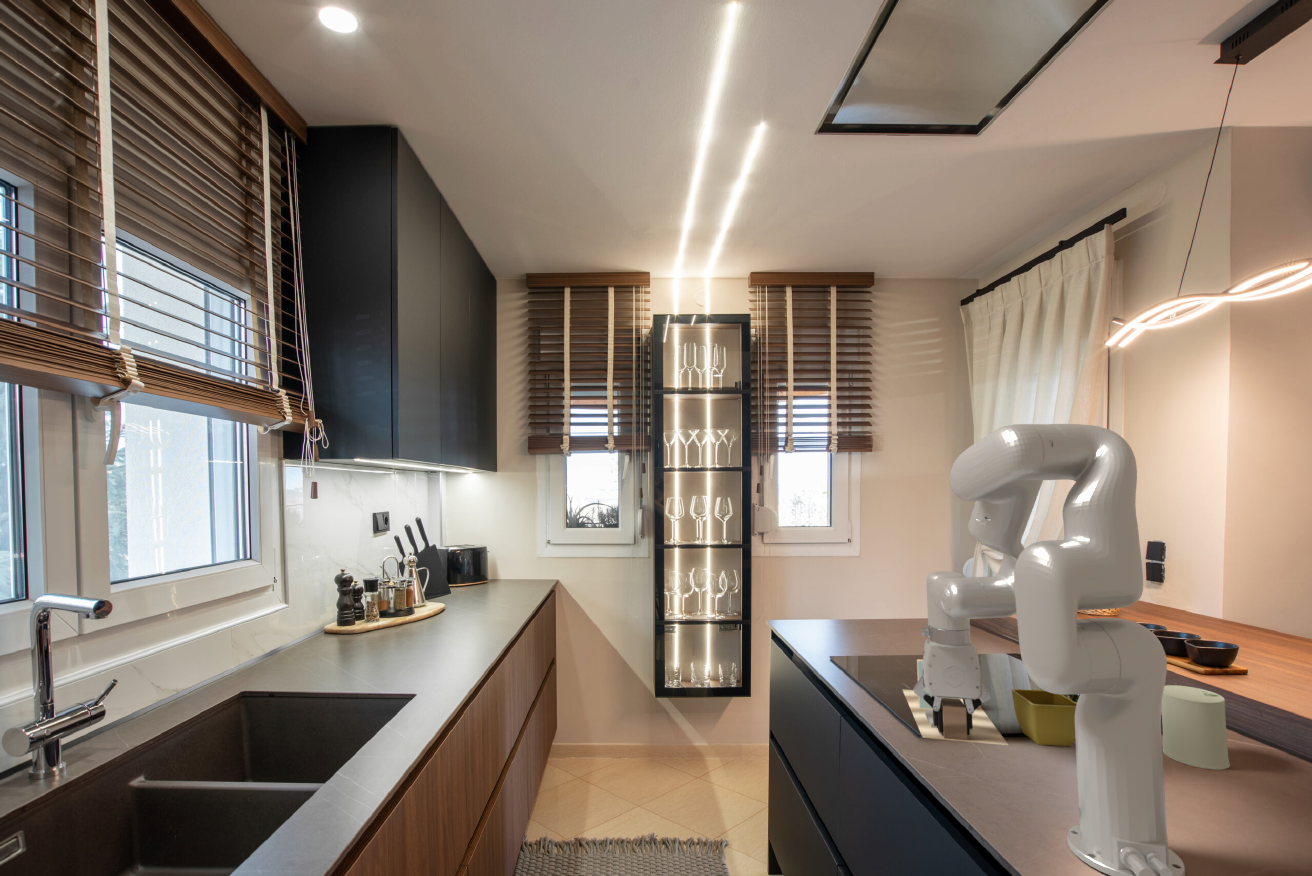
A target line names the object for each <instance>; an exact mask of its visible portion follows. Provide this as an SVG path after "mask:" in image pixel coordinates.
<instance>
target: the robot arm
mask: <svg viewBox="0 0 1312 876" xmlns="http://www.w3.org/2000/svg"><path fill="white" fill-rule="evenodd" d="M1137 469H1138V468H1137V461H1136V457H1135V453H1134V451H1133V449H1132V447H1131V446H1130V445H1129V443H1128V441H1126V440H1125V439H1124V438H1123V437H1122V436H1121V435H1120V434H1118V433H1117V432H1115V431H1114V430H1111V429H1108V428H1105V427H1102V426H1097V425H1091V424H1084V423H1083V424H1081V423H1077V424H1076V423H1048V424H1047V423H1045V424H1044V423H1043V424H1042V423H1038V424H1037V423H1027V424H1026V423H1022V424H1021V423H1017V424H1010V425H1009V424H1008V425H1004V426H1002V427H999V428H997V429H995V430H994V431H992V432H990V433H989V434H987V435H986V436H984V437H983V438H981V439H980V440H978V441H977V442H974V443H972V445H970V446H969V447H968V448H966V449H965V450H964V451H963V452H961V453H960V454H959V456H957V457H956V459H955V461H954V462H953V465H952V466H951V470H950V474H949V484H950V487H951V490H952V492H953V494H954V495H955V496H956V497H957V498H958V499H961V500H962V501H967V502H975V503H974V505H973V509H972V512H971V515H970V517H969V521H968V525H967V529H968V532H969V534H970V535H971V537H972V538H973V539H975V541H977V542H978V543H980V544H982V545H983V546H985V547H987V548H989V549H992V550H993V551H996V552H999V553H1001V554H1002V560H1001V564H1000V567H999V568H998V569H999V570H998V571H997V574H996V576H994V575H993V576H969V577H968V576H967V577H966V575H965V574H962V573H960V572H956V571H954V572H953V571H944V570H943V571H939V570H938V571H933V572H930V573H928V575H927V576H926V600H927V601H926V602H927V607H926V608H927V624H926V625H927V626H926V627H925V628H921V627H920V635H921V636H924V637H927V638H928V639H926V640H924V641H925V642H924V645H923V646H924V647H923V654H922V660H923V668H922V676H921V678H920V679H919V681H918V680H917V682H916V684H914V686H913V689H912V690H913V691H914V693H915V694H916V695H918V696H919V697H921V698H922V699H924V700H925V701H926V702H927V703H928V704H929V705H930V706H931V707H932V708H933V724H934V726H937V729H938V731H939V732H941V733H942V732H943V713H942V711H941V707H940V704H941V698H942V697H945V698H958V699H963V703H964V706H965V707H966V721H967V735H970V729H973V725H972V714H973V713H974V711H975V710H976V709H977V708H978V707H979V706H980V707H981V705H982V704H983V703H985V702H987V701H989V700H991V699H992V694H990V692H989V691H988V690H987V688H986V687H985V685H984V684H983V683H982V675H981V674H982V673H981V667H980V662H979V655H978V649H977V647H976V645H975V644H974V643H973V642H972V641H971V623H970V622H971V621H970V620H979V619H997V618H998V619H999V618H1009V617H1011V616H1013V615H1015V614H1016V622H1017V623H1016V624H1017V632H1018V633H1017V634H1018V635H1017V636H1018V643H1019V644H1018V646H1019V652H1020V657H1021V662H1022V665H1023V667H1024V669H1025V672H1026V673H1027V676H1028V677H1029V678H1030V680H1031V681H1032V682H1033V683H1034V684H1035V685H1036V687H1039V689H1040V690H1045V691H1047V692H1050V693H1054V694H1062V695H1079V696H1078V700H1077V702H1076V703H1077V705H1076V710H1075V741H1074V743H1075V758H1076V777H1077V778H1076V779H1077V792H1078V793H1077V796H1078V812H1079V814H1078V815H1079V824H1075V825H1074V826H1072V827H1070V828H1069V829H1068V830H1067V833H1066V834H1067V835H1066V839H1067V845H1068V847H1069V849H1070V850H1071V851H1072V853H1073V854H1074V855H1075V856H1077V857H1078V858H1079V859H1080V860H1081V861H1083V862H1084V863H1085V864H1086V865H1089V866H1090V867H1092V868H1093V869H1095V870H1097V871H1099V872H1100V873H1103V874H1106V875H1108V876H1186V869H1185V864H1184V861H1183V860H1182V859H1181V857H1180V856H1179V855H1178V854H1177V853H1175V852H1174V851H1173V850H1172V849H1171V848H1169V841H1168V838H1169V837H1168V825H1167V823H1168V822H1167V807H1166V794H1165V793H1166V791H1165V776H1164V775H1165V773H1164V762H1163V761H1164V760H1163V758H1164V757H1163V741H1162V740H1163V735H1162V710H1161V704H1162V696H1163V690H1164V686H1166V678H1167V671H1168V663H1167V655H1166V651H1165V649H1164V647H1163V646H1164V645H1162V643H1161V641H1160V640H1159V638H1158V637H1157V636H1156V635H1155V634H1154V633H1153V632H1152V630H1150V629H1149V628H1148V627H1146V626H1144V625H1143V624H1140V623H1139V622H1135V621H1134V620H1133V621H1132V620H1130V619H1124V618H1118V617H1116V618H1115V617H1097V618H1096V617H1095V618H1078V611H1087V610H1088V611H1089V610H1095V611H1096V610H1109V609H1110V610H1111V609H1121V608H1126V607H1129V606H1133V605H1134V604H1135V603H1137V602H1138V601H1139V600H1140V599H1141V597H1142V595H1143V592H1144V574H1143V573H1144V572H1143V562H1142V554H1141V553H1142V552H1141V543H1140V542H1141V541H1140V534H1139V525H1138V524H1139V523H1138V519H1137V510H1136V509H1137V507H1136V504H1137V503H1136V501H1137V500H1136V499H1137V497H1136V496H1137V483H1138V470H1137ZM1057 480H1059V481H1060V480H1061V481H1062V480H1064V481H1065V480H1066V481H1067V480H1071V481H1074V482H1075V483H1074V484H1073V485H1072V487H1071V488H1070V489H1069V491H1068V493H1067V496H1066V498H1065V499H1064V503H1063V508H1062V520H1063V539H1059V540H1057V539H1056V540H1055V539H1054V540H1052V539H1050V540H1042V541H1037V542H1034V543H1031V544H1029V545H1027V546H1024V545H1023V544H1022V538H1023V536H1024V533H1025V531H1026V529H1027V526H1028V523H1029V520H1030V517H1031V514H1032V512H1033V509H1034V507H1035V504H1036V501H1037V498H1038V495H1039V493H1040V491H1041V487H1042V485H1043V482H1044V481H1057ZM924 687H925V690H926V692H927V693H926V692H924V691H923V689H924ZM930 695H932V697H931V696H930Z"/></svg>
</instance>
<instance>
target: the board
mask: <svg viewBox="0 0 1312 876" xmlns="http://www.w3.org/2000/svg"><path fill="white" fill-rule="evenodd" d="M901 690H902V692H903V694H904V697H905V700H906V701H907V702H906V703H908V706H909V709H910V711H911V713H912V716H913V719H914V720H915V722H916V725H917V728H918V730H919V732H920V735H921V737H922V738H924V739H931V740H932V739H933V740H942V741H943V740H944V741H953V742H955V741H956V742H966V743H977V744H987V745H988V744H990V745H999V746H1009V743H1008V742H1007V741H1006V740H1005V737H1003V736H1002V734H1001V732H1000V731H999V730H998V729H997V727H996V726H995V725H994V723H993V722H992V720H991V719H990V718H989V716H988V715H987V714H986V712H985V710H984V709H983V708H982V706H981V705H980V706H979V707H978V708H977V709H976V710H975V711H974V713H973V714H972V725H973V729H970V735H967V740H957V739H945V738H944V736H943V734H942V733H941V732H939V731H938V729H937V728H931V726H930V724H929V722H928V719H927V717H926V715H925V711H933V709H926V708H919V704H918V695H916V694H915V693H914V691H913V689H903V688H902V689H901ZM960 700H961V701H962V703H963V699H960ZM963 704H964V703H963Z"/></svg>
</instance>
